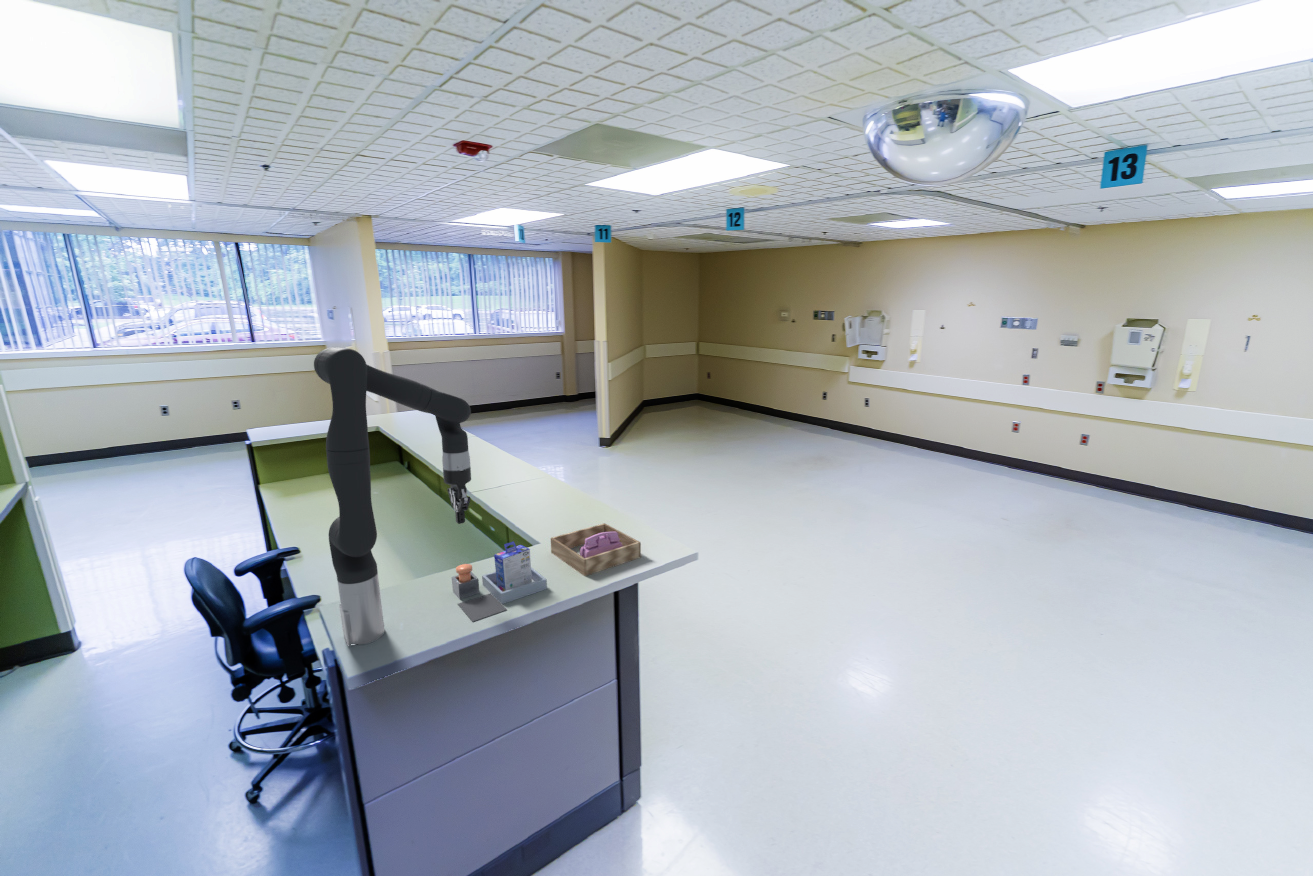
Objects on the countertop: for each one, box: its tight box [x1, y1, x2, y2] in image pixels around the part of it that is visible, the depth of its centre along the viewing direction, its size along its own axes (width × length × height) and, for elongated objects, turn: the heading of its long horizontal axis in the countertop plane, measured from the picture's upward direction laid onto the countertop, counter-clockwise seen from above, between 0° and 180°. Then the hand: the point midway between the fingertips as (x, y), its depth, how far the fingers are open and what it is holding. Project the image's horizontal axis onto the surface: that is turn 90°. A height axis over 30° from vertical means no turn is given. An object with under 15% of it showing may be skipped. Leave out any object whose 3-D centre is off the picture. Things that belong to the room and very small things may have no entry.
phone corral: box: [550, 523, 642, 577], centre depth 194 cm, size 23×23×6 cm
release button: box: [455, 563, 473, 583], centre depth 168 cm, size 5×5×8 cm
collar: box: [481, 566, 548, 605], centre depth 172 cm, size 15×15×4 cm
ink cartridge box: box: [493, 541, 533, 592], centre depth 170 cm, size 10×6×14 cm, turn 138°
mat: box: [457, 592, 508, 623], centre depth 160 cm, size 10×12×1 cm
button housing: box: [451, 571, 480, 600], centre depth 168 cm, size 6×6×5 cm
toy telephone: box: [579, 532, 623, 558], centre depth 189 cm, size 18×6×10 cm, turn 124°
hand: (460, 522), depth 164 cm, fingers closed
